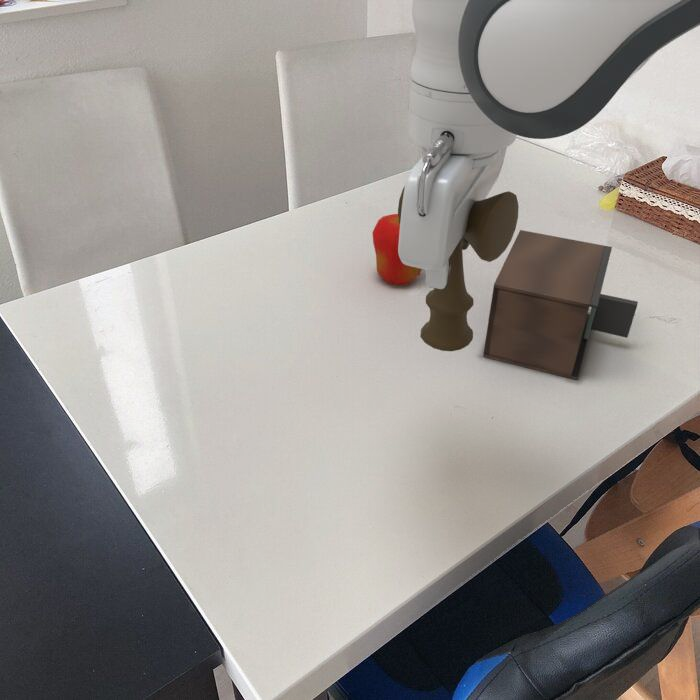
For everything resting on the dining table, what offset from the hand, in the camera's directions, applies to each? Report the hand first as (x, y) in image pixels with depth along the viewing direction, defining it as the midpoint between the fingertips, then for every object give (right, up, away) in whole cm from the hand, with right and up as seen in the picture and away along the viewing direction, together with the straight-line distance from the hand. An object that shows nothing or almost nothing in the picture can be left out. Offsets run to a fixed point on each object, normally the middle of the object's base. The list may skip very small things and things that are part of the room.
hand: (449, 263), depth 63 cm
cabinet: (+18, -6, +36) cm, 40 cm away
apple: (-1, +4, +48) cm, 49 cm away
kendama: (0, -7, +5) cm, 9 cm away
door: (+28, -5, +36) cm, 46 cm away
